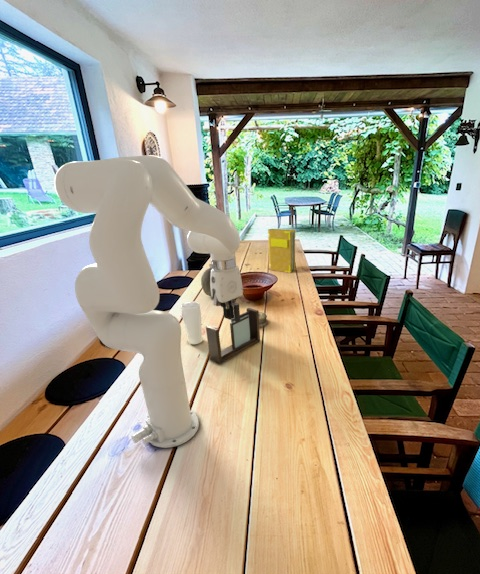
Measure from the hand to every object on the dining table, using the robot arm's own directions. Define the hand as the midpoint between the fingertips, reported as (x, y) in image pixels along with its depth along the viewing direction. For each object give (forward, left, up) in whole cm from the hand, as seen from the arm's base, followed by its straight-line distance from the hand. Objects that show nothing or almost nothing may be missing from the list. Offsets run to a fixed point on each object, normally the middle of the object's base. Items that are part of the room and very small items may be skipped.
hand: (229, 317), depth 107 cm
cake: (+23, +11, -14) cm, 29 cm away
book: (+92, +53, -14) cm, 107 cm away
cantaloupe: (+35, +50, -14) cm, 63 cm away
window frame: (+2, +1, -14) cm, 14 cm away
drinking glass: (-3, +18, -14) cm, 23 cm away
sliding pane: (+4, 0, -12) cm, 13 cm away
